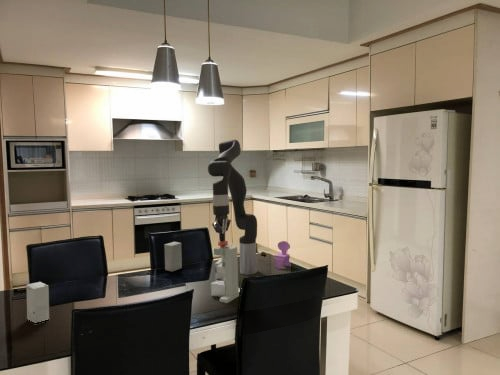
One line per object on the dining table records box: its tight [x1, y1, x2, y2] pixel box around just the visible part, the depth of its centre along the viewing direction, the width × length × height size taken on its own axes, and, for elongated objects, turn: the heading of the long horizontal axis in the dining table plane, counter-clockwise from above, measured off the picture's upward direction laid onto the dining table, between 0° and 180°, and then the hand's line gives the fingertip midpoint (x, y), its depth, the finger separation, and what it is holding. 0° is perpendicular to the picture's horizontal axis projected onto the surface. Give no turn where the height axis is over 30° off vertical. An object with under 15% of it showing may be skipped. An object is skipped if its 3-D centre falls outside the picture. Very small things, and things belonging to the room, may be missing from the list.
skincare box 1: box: [26, 281, 50, 323], centre depth 160 cm, size 8×6×15 cm
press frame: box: [213, 245, 241, 304], centre depth 182 cm, size 16×9×23 cm, turn 151°
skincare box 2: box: [163, 241, 183, 273], centre depth 232 cm, size 8×7×16 cm
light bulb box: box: [214, 258, 225, 281], centre depth 206 cm, size 11×7×11 cm, turn 169°
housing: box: [210, 279, 226, 298], centre depth 185 cm, size 5×8×8 cm, turn 61°
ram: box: [217, 240, 229, 273], centre depth 183 cm, size 5×5×14 cm
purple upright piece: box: [274, 240, 292, 270], centre depth 230 cm, size 8×9×15 cm
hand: (222, 241), depth 183 cm, fingers closed
